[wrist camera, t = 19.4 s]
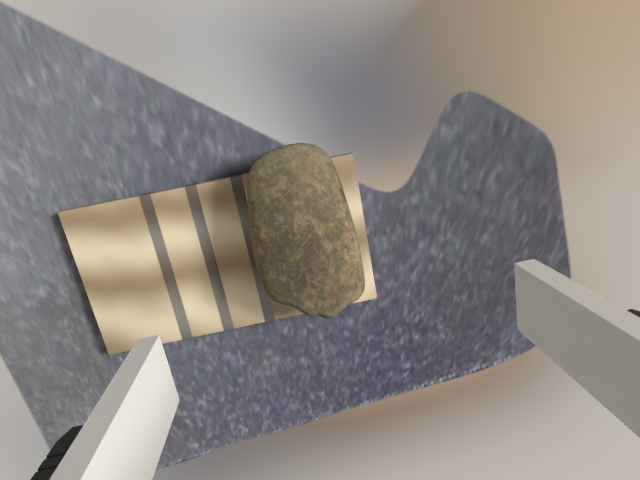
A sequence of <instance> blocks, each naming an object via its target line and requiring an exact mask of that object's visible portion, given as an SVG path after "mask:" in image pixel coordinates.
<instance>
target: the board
mask: <svg viewBox="0 0 640 480" xmlns="http://www.w3.org/2000/svg"><path fill="white" fill-rule="evenodd" d="M330 158H331V160H332V162H333V164H334V165H335V168H336V170H337V173H338V176H339V179H340V182H341V184H342V187H343V190H344V194H345V197H346V200H347V203H348V206H349V209H350V213H351V216H352V220H353V223H354V226H355V230H356V233H357V237H358V241H359V246H360V251H361V257H362V262H363V268H364V276H365V289H364V292H363V294H362V295H361V297H360V298H359V299H358V300H356V301H355V302H353V303H357V302H361V301H366V300H371V299H375V298H377V295H376V289H375V283H374V277H373V271H372V265H371V259H370V253H369V247H368V241H367V234H366V228H365V222H364V216H363V210H362V204H361V198H360V192H359V186H358V180H357V174H356V168H355V161H354V156H353V153H347V154H342V155H337V156H332V157H330ZM248 176H249V173H246V174H241V175H236V176H231V177H226V178H221V179H216V180H211V181H206V182H201V183H196V184H191V185H186V186H181V187H176V188H171V189H166V190H161V191H156V192H151V193H146V194H141V195H136V196H131V197H126V198H121V199H116V200H111V201H106V202H101V203H96V204H91V205H86V206H81V207H76V208H71V209H66V210H62V211H60V212H58V215H59V218H60V220H61V223H62V226H63V229H64V231H65V234H66V237H67V240H68V243H69V245H70V248H71V251H72V254H73V256H74V259H75V262H76V265H77V268H78V270H79V273H80V276H81V279H82V281H83V284H84V287H85V290H86V293H87V295H88V298H89V301H90V304H91V307H92V309H93V312H94V315H95V318H96V320H97V323H98V326H99V329H100V332H101V334H102V337H103V340H104V343H105V345H106V348H107V351H108V354H109V355H111V354H116V353H121V352H126V351H130V350H131V349H132V347H133V346H134V344H135V343H136V341H137V340H138V339H142V338H147V337H152V336H157V335H159V336H160V340H161V343H162V344H163V343H168V342H173V341H177V340H182V339H187V338H192V337H196V336H201V335H206V334H210V333H215V332H220V331H225V330H229V329H234V328H239V327H243V326H248V325H253V324H258V323H262V322H267V321H272V320H276V319H281V318H286V317H291V316H295V315H300V314H304V313H302V312H301V311H299V310H298V309H297V308H295V307H292V306H289V305H283V304H280V303H277V302H275V301H273V300H272V299H270V298H269V296H268V295H267V293H266V291H265V289H264V287H263V285H262V282H261V279H260V276H259V272H258V270H257V267H256V264H255V259H254V254H253V250H252V243H251V238H250V231H249V212H248V199H247V181H248Z"/></svg>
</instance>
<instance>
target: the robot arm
mask: <svg viewBox="0 0 640 480" xmlns="http://www.w3.org/2000/svg"><path fill="white" fill-rule="evenodd" d="M514 267H515V286H516V306H517V326H518V330H519V331H520V332H521V333H522V334H523V335H524V336H526V337H527V338H528V339H529V340H530V341H531V342H532V343H533V344H535V345H536V346H537V347H538V348H539V349H540V350H541V351H542V352H544V353H545V354H546V355H547V356H548V357H549V358H550V359H552V360H553V361H554V362H555V363H556V364H557V365H558V366H559V367H561V368H562V369H563V370H564V371H565V372H566V373H568V375H570V376H571V377H572V378H573V379H574V380H575V381H576V382H578V383H579V384H580V385H581V386H582V387H583V388H584V389H586V390H587V391H588V392H589V393H590V394H591V395H592V396H593V397H594V398H596V399H597V400H598V401H599V402H600V403H601V404H602V405H603V406H605V407H606V408H607V409H608V410H609V411H610V412H611V413H612V414H614V415H615V416H616V417H617V418H618V419H619V420H620V421H621V422H623V423H624V424H625V425H626V426H627V427H628V428H629V429H631V430H632V431H633V432H634V433H635V434H636V435H637V436H638V437H640V311H637V310H633V309H630V310H625V309H623V308H622V307H619V306H618V305H616V304H614V303H612V302H611V301H609V300H607V299H605V298H603V297H602V296H600V295H598V294H596V293H594V292H593V291H591V290H589V289H587V288H585V287H584V286H582V285H580V284H578V283H576V282H575V281H573V280H571V279H569V278H567V277H566V276H564V275H562V274H560V273H558V272H557V271H555V270H553V269H551V268H549V267H548V266H546V265H544V264H542V263H540V262H539V261H537V260H535V259H533V260H528V261H523V262H518V263H514ZM178 403H179V397H178V394H177V390H176V387H175V384H174V381H173V378H172V375H171V371H170V368H169V365H168V362H167V359H166V355H165V352H164V349H163V346H162V343H161V340H160V336H159V335H157V336H152V337H147V338H142V339H138V340H137V341H136V343H135V344H134V346H133V347H132V349H131V351H130V352H129V354H128V355H127V357H126V359H125V360H124V362H123V363H122V365H121V367H120V368H119V370H118V371H117V373H116V375H115V376H114V378H113V379H112V381H111V382H110V384H109V386H108V387H107V389H106V390H105V392H104V394H103V395H102V397H101V398H100V400H99V402H98V403H97V405H96V406H95V408H94V409H93V411H92V413H91V414H90V416H89V417H88V419H87V421H86V422H85V424H84V425H82V426H77V427H72V428H71V429H70V430H69V431H68V432H67V433H66V434H65V435H64V436H62V437H61V438H60V439H59V440H58V441H57V442H56V443H55V445H54V446H53V448H52V449H51V451H50V452H49V454H48V455H47V458H46V460H44V461H43V462H42V464H41V465H40V467H39V468H38V472H36V473H35V474H34V476H33V477H32V479H31V480H152V478H153V476H154V473H155V470H156V467H157V464H158V461H159V458H160V455H161V452H162V450H163V447H164V444H165V441H166V438H167V435H168V432H169V429H170V426H171V424H172V421H173V418H174V415H175V412H176V409H177V406H178Z"/></svg>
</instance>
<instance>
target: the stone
mask: <svg viewBox="0 0 640 480" xmlns="http://www.w3.org/2000/svg"><path fill="white" fill-rule="evenodd" d="M247 199H248V212H249V231H250V238H251V243H252V250H253V254H254V259H255V264H256V267H257V270H258V272H259V276H260V279H261V282H262V285H263V287H264V289H265V291H266V293H267V295H268V296H269V298H270V299H272V300H273V301H275V302H277V303H280V304H283V305H289V306H292V307H295V308H297V309H298V310H299V311H301V312H302V313H304V314H306V315H309V316H316V315H320V316H322V317H325V318H333V317H335V316H336V315H337V314H338V313H339V312H340V311H341V310H342V309H344V308H345V307H347V306H348V305H350V304H352V303H353V302H355V301H356V300H358V299H359V298H360V297H361V295H362V294H363V292H364V289H365V276H364V268H363V262H362V257H361V251H360V246H359V241H358V237H357V233H356V230H355V226H354V223H353V220H352V216H351V213H350V209H349V206H348V203H347V200H346V197H345V194H344V190H343V187H342V184H341V182H340V179H339V176H338V173H337V170H336V168H335V165H334V164H333V162H332V160H331V158H330V157H329V156H328V155H327V154H326V153H325V151H323V150H322V149H321V148H319V147H317V146H315V145H312V144H307V143H296V144H289V145H286V146H283V147H279V148H276V149H273V150H271V151H268V152H266V153H265V154H263V155H262V156H261V157H259V158H258V159H257V160H256V161H255V162H254V164H253V165H252V167H251V169H250V171H249V176H248V181H247Z"/></svg>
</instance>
